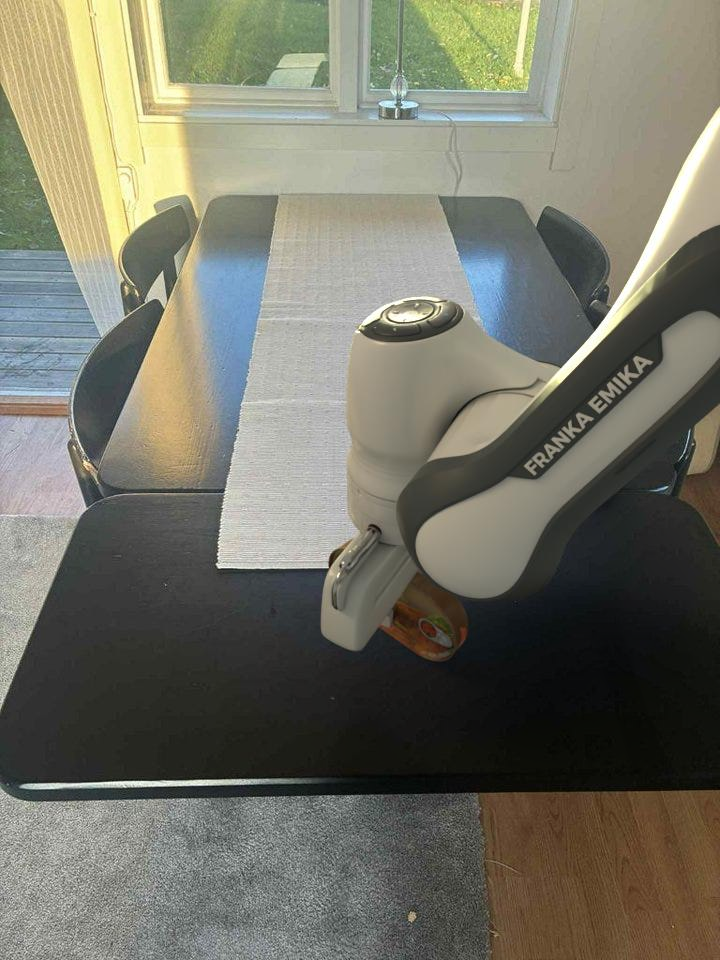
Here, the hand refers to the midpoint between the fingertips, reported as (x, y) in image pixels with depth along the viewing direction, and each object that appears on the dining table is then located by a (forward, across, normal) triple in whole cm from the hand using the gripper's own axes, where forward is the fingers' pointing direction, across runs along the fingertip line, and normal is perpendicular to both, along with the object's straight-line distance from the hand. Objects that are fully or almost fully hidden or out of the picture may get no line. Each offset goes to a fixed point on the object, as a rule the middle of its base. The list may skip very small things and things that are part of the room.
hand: (396, 604), depth 65 cm
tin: (+3, 0, 0) cm, 3 cm away
